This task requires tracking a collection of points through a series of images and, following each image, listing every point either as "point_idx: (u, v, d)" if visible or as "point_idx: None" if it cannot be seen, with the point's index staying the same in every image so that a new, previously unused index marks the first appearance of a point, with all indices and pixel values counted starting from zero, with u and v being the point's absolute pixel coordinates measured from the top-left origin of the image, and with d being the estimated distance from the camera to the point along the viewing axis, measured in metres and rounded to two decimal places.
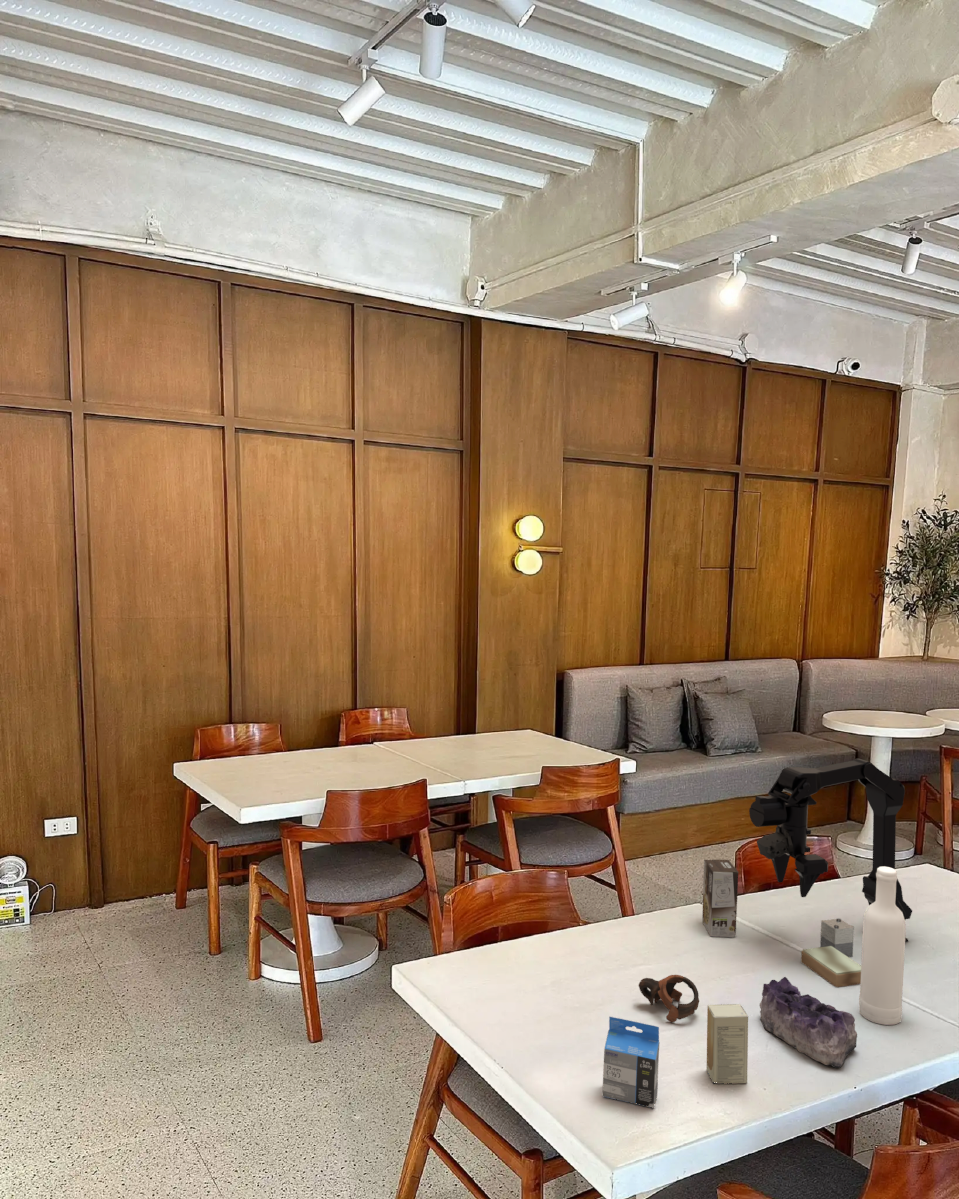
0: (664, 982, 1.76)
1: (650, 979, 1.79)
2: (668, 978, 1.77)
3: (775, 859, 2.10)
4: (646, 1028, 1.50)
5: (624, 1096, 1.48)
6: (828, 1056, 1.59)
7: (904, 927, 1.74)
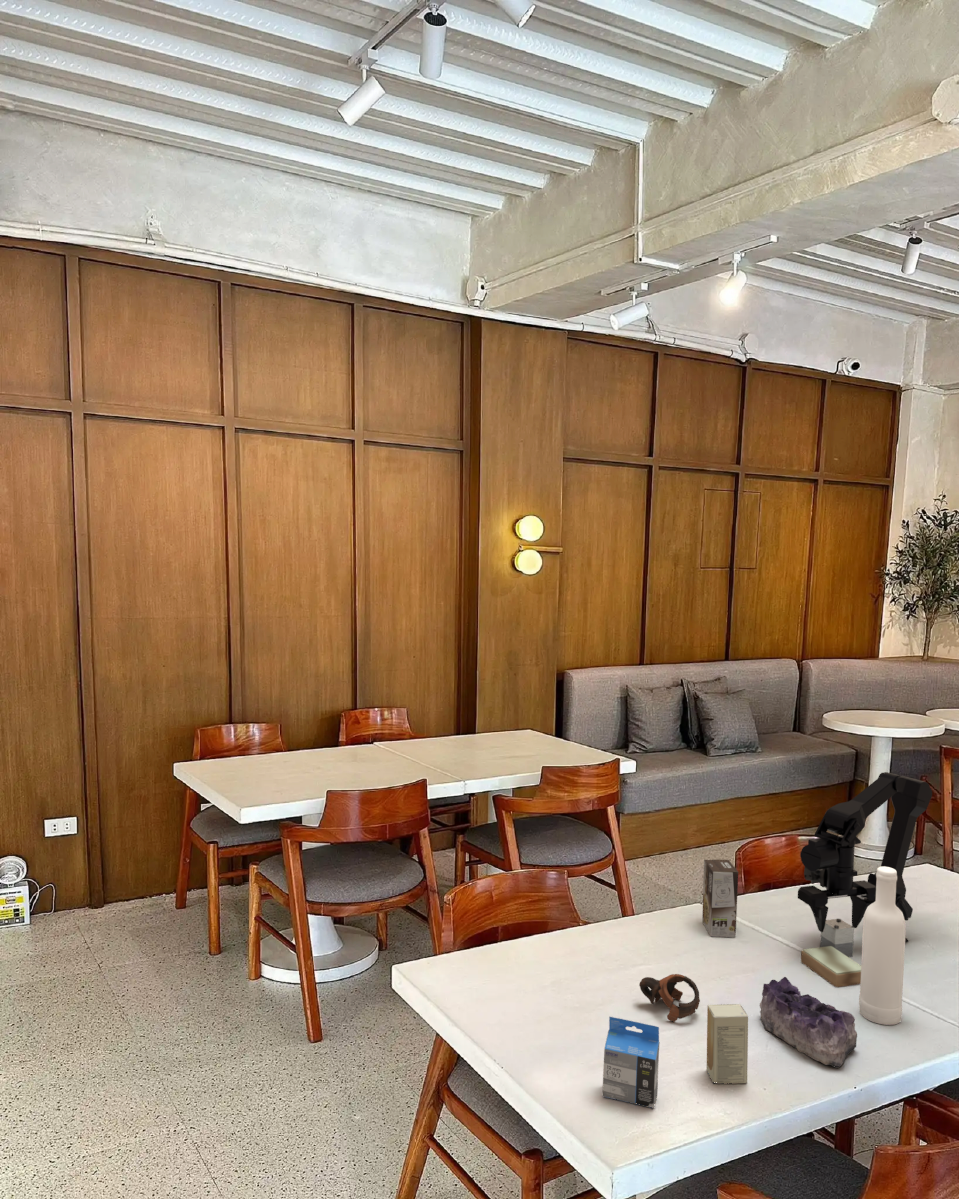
0: (665, 981, 1.76)
1: (651, 978, 1.79)
2: (669, 977, 1.77)
3: (852, 902, 2.08)
4: (646, 1028, 1.50)
5: (624, 1096, 1.48)
6: (828, 1056, 1.59)
7: (904, 927, 1.74)
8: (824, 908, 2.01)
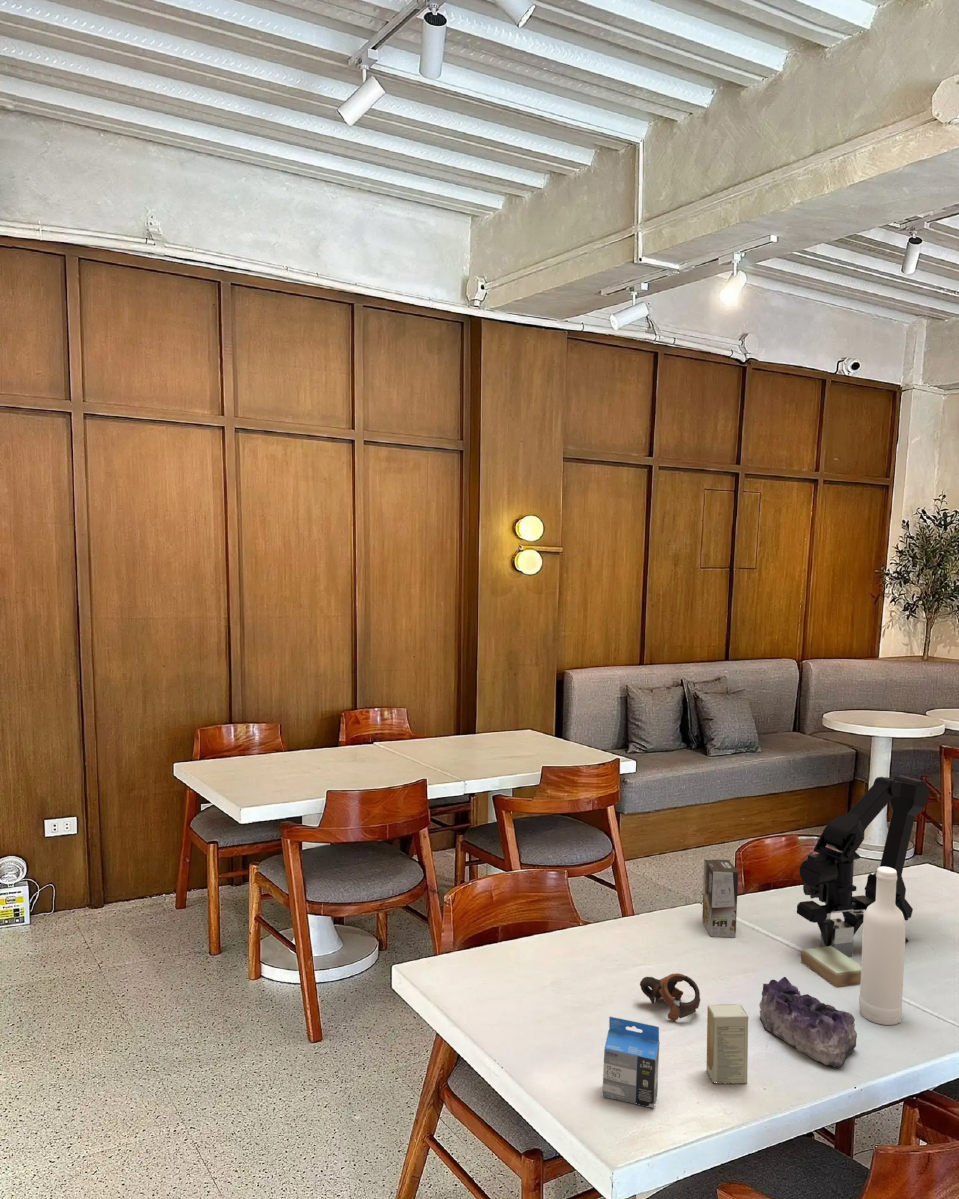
0: (665, 981, 1.77)
1: (651, 978, 1.79)
2: (669, 977, 1.78)
3: (845, 918, 2.07)
4: (646, 1028, 1.50)
5: (624, 1096, 1.48)
6: (828, 1056, 1.59)
7: (904, 927, 1.74)
8: (830, 923, 2.01)
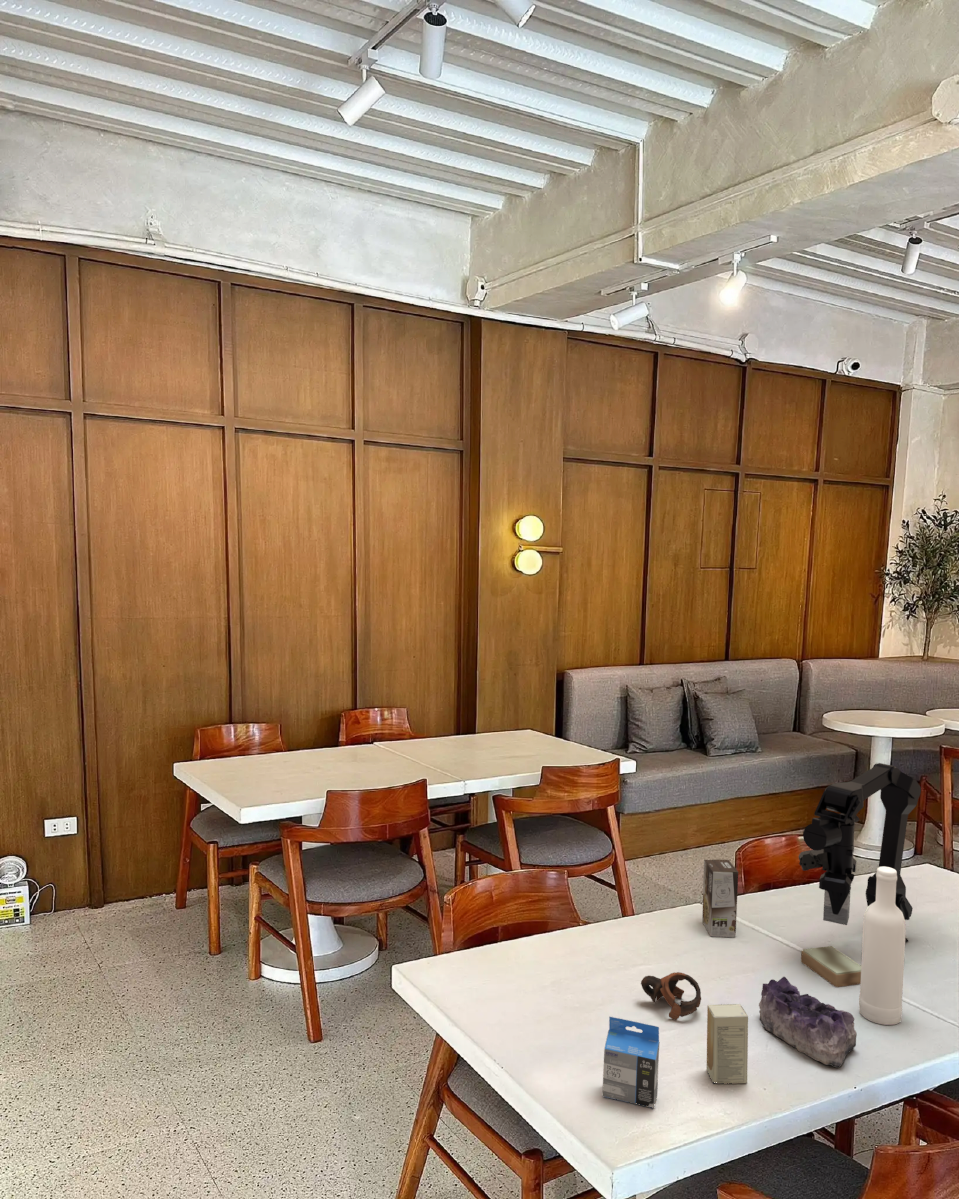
0: (666, 980, 1.77)
1: (652, 977, 1.80)
2: (670, 976, 1.78)
3: None
4: (646, 1028, 1.50)
5: (624, 1096, 1.48)
6: (828, 1056, 1.59)
7: (904, 927, 1.74)
8: (850, 889, 1.95)
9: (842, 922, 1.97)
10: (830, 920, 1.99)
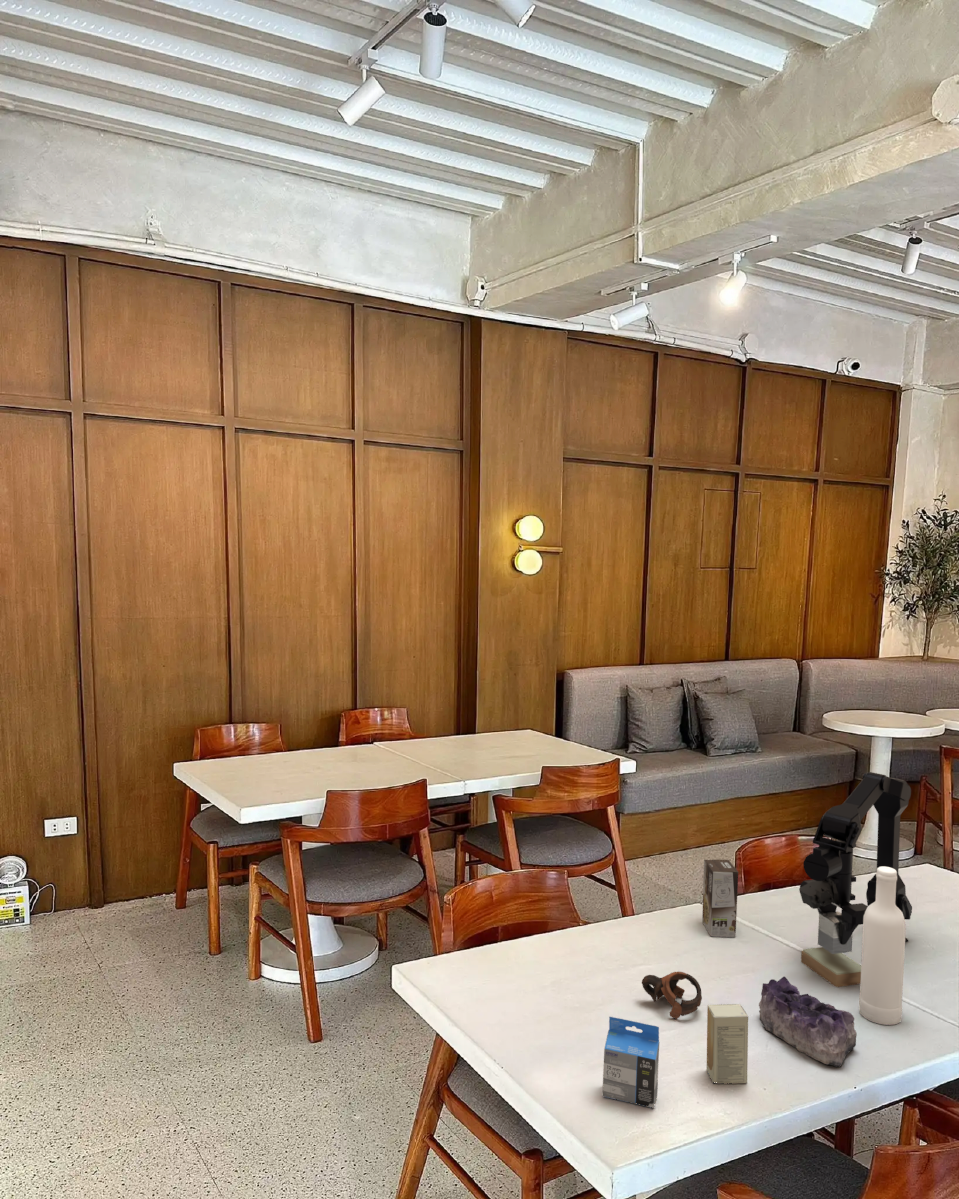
0: (667, 979, 1.78)
1: (653, 976, 1.80)
2: (671, 975, 1.78)
3: (822, 910, 1.98)
4: (646, 1028, 1.50)
5: (624, 1096, 1.48)
6: (828, 1055, 1.59)
7: (904, 927, 1.74)
8: None
9: (848, 950, 1.94)
10: (838, 952, 1.93)
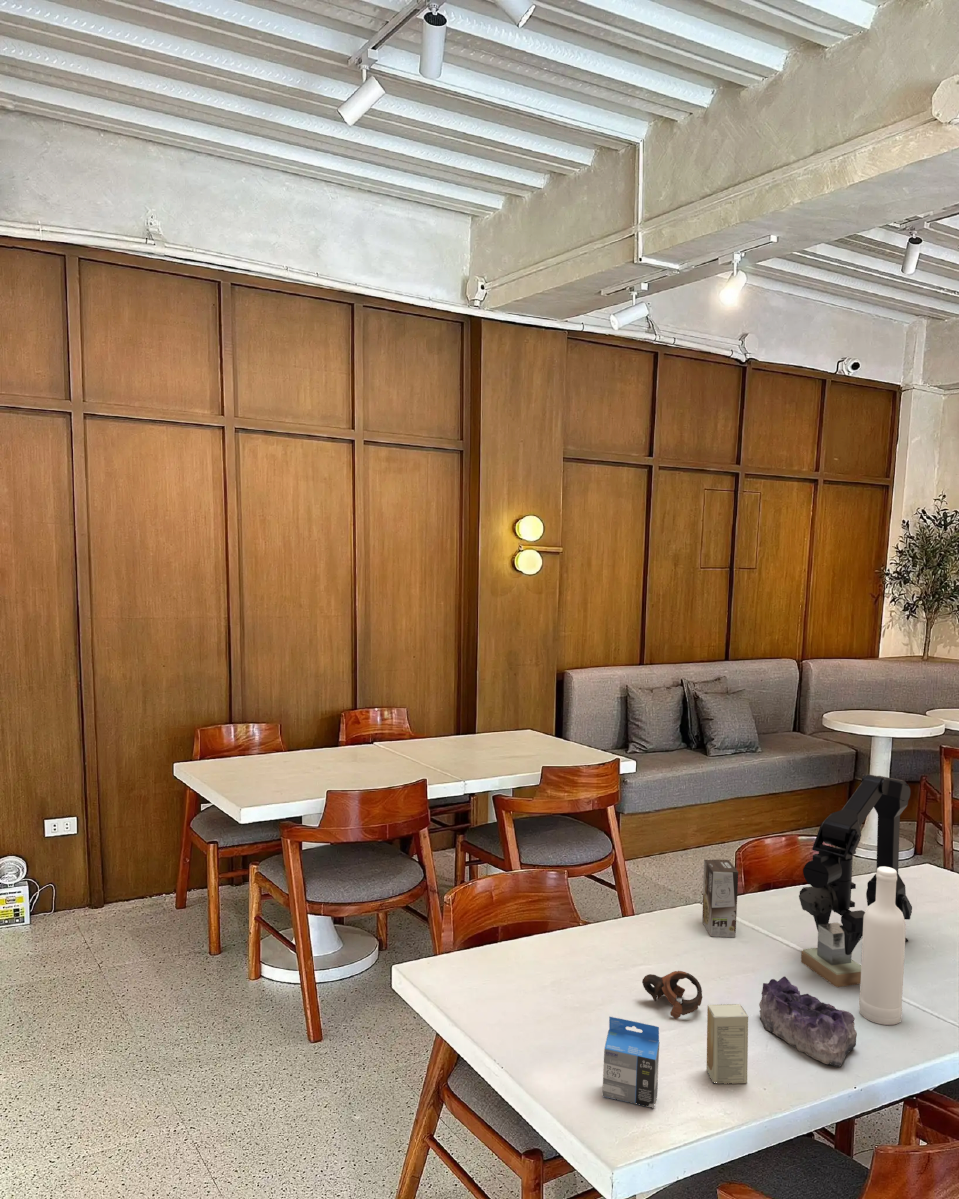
0: (668, 978, 1.78)
1: (654, 975, 1.80)
2: (672, 974, 1.79)
3: None
4: (646, 1028, 1.50)
5: (624, 1096, 1.48)
6: (828, 1055, 1.59)
7: (904, 927, 1.74)
8: None
9: (847, 961, 1.94)
10: (838, 963, 1.93)
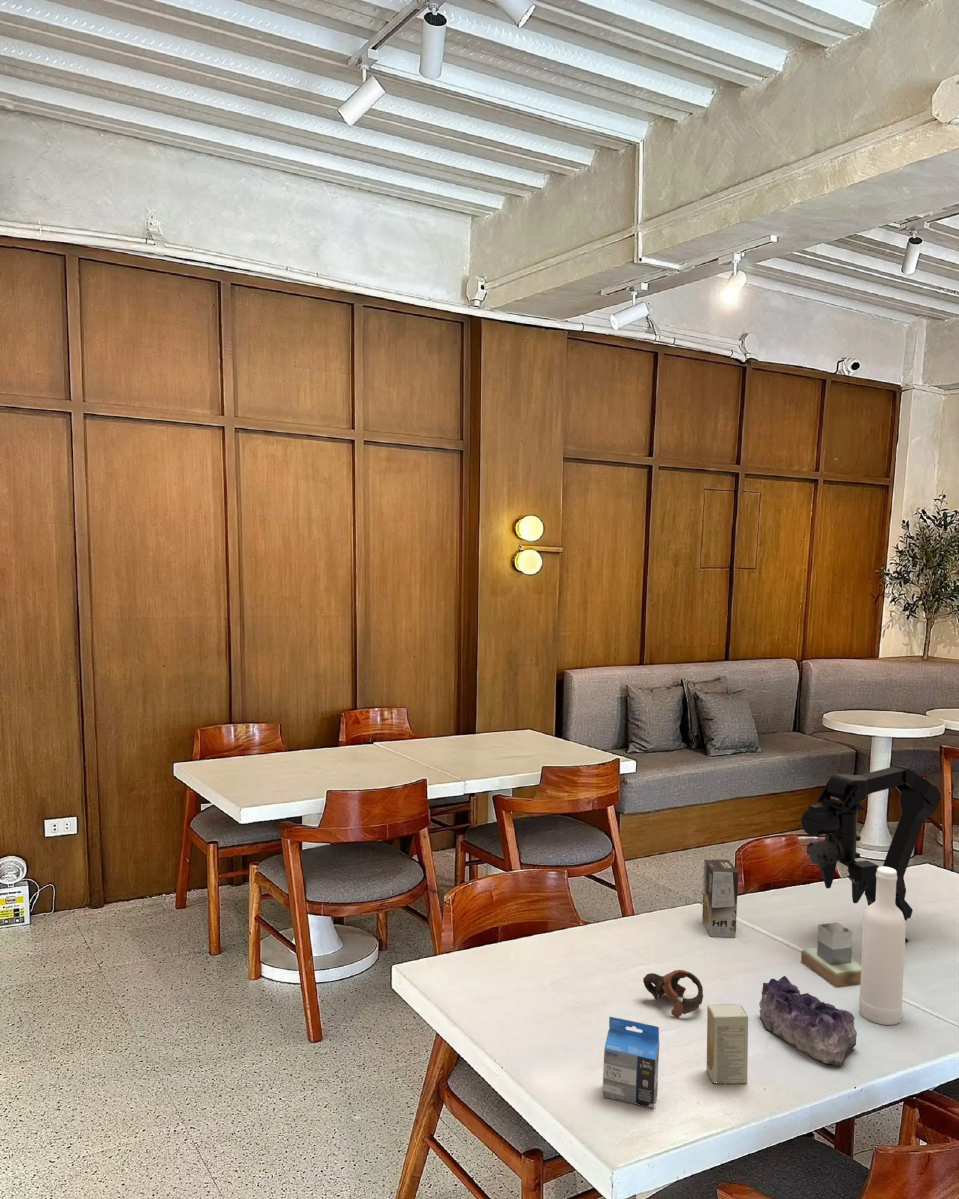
0: (669, 977, 1.78)
1: (655, 974, 1.81)
2: (673, 973, 1.79)
3: None
4: (646, 1028, 1.50)
5: (624, 1096, 1.48)
6: (828, 1055, 1.59)
7: (904, 927, 1.74)
8: None
9: (847, 961, 1.94)
10: (838, 963, 1.93)
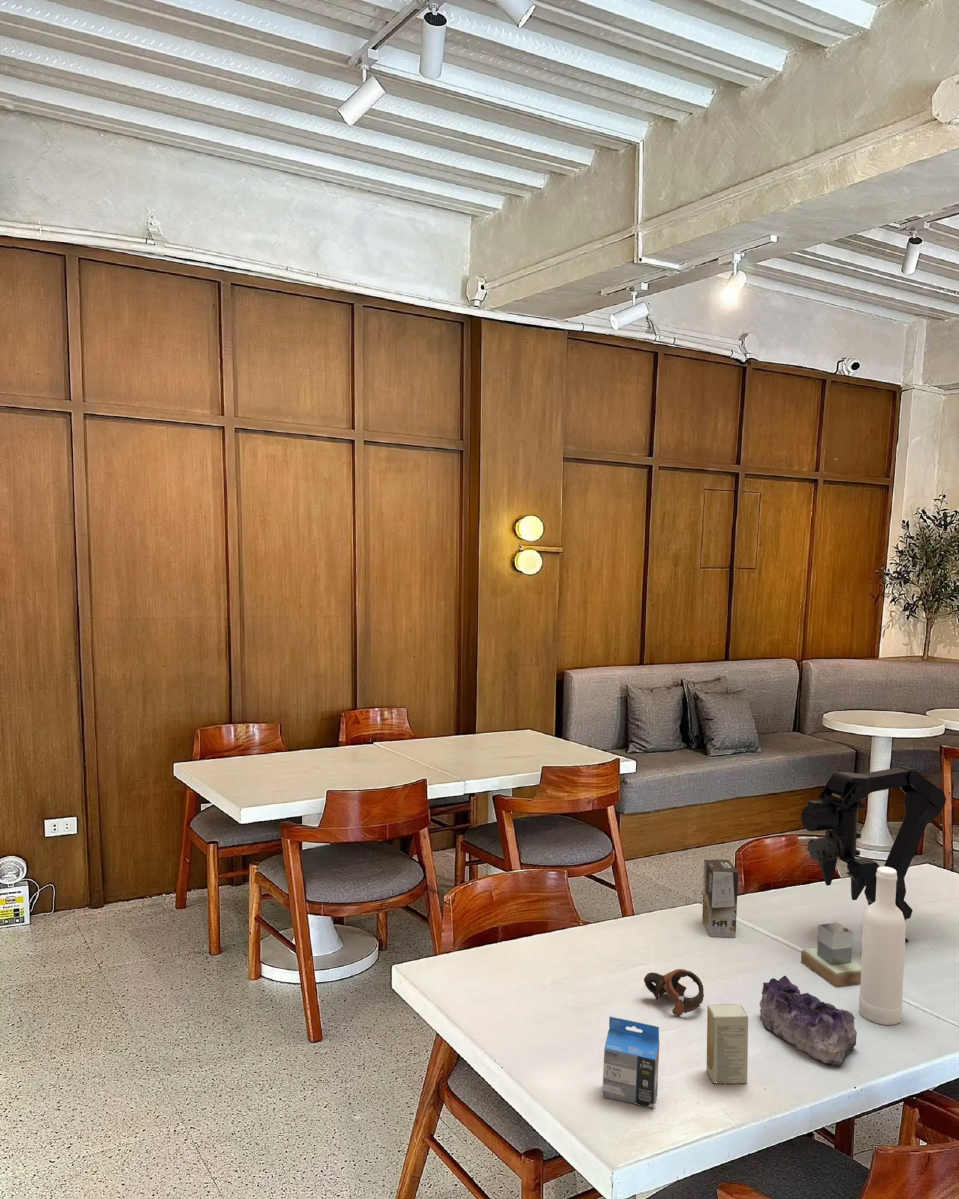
0: (670, 976, 1.79)
1: (655, 974, 1.81)
2: (673, 972, 1.80)
3: (823, 862, 2.13)
4: (646, 1028, 1.50)
5: (624, 1096, 1.48)
6: (828, 1054, 1.59)
7: (904, 927, 1.74)
8: None
9: (847, 961, 1.94)
10: (838, 963, 1.93)
